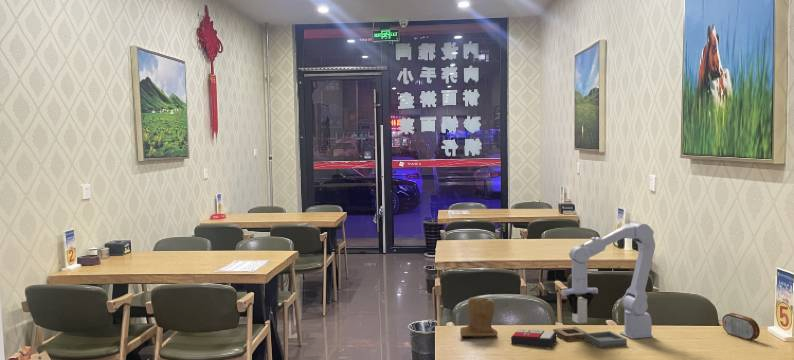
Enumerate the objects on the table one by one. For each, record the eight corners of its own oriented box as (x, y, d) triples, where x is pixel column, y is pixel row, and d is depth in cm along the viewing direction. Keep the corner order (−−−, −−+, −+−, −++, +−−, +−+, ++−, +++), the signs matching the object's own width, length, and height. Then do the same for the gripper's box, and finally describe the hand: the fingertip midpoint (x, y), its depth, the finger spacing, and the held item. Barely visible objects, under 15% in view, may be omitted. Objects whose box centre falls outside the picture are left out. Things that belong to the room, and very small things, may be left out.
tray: (609, 337, 243) (609, 331, 243) (626, 345, 232) (626, 338, 232) (584, 339, 240) (584, 333, 240) (600, 348, 230) (600, 341, 230)
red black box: (517, 327, 247) (556, 329, 241) (518, 338, 247) (556, 340, 241) (510, 335, 237) (550, 337, 231) (511, 346, 237) (551, 349, 231)
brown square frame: (575, 331, 251) (575, 326, 251) (589, 338, 242) (589, 333, 241) (553, 333, 249) (553, 328, 249) (565, 341, 239) (565, 335, 239)
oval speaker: (760, 342, 235) (760, 319, 234) (754, 343, 234) (754, 320, 233) (726, 331, 249) (726, 310, 249) (720, 332, 248) (720, 311, 247)
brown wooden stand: (493, 330, 255) (493, 293, 254) (499, 339, 243) (499, 300, 242) (456, 331, 254) (456, 294, 254) (460, 340, 243) (460, 301, 242)
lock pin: (581, 319, 245) (581, 297, 245) (587, 322, 241) (587, 299, 241) (572, 320, 244) (572, 297, 244) (577, 323, 240) (577, 300, 240)
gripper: (591, 274, 248) (591, 309, 248) (557, 277, 244) (557, 311, 245) (600, 278, 241) (601, 313, 241) (566, 280, 237) (566, 316, 238)
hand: (579, 312), depth 243 cm, fingers closed on lock pin, 4 cm apart
